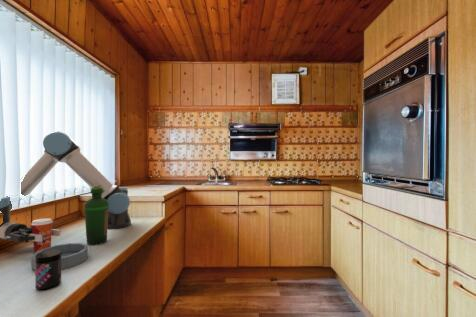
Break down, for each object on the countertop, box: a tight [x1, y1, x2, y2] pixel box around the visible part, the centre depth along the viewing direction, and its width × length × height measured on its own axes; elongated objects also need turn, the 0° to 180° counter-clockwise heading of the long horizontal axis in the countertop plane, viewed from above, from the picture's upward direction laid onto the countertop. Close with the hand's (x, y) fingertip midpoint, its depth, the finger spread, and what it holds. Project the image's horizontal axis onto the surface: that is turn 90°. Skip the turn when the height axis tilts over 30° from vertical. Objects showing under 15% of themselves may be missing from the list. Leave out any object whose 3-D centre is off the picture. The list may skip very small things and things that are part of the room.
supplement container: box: [34, 250, 62, 292], centre depth 80 cm, size 7×7×10 cm
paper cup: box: [30, 217, 54, 253], centre depth 110 cm, size 8×8×14 cm
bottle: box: [83, 185, 109, 246], centre depth 122 cm, size 11×11×28 cm
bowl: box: [30, 242, 89, 272], centre depth 99 cm, size 18×18×4 cm
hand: (50, 235), depth 109 cm, fingers open, 7 cm apart
